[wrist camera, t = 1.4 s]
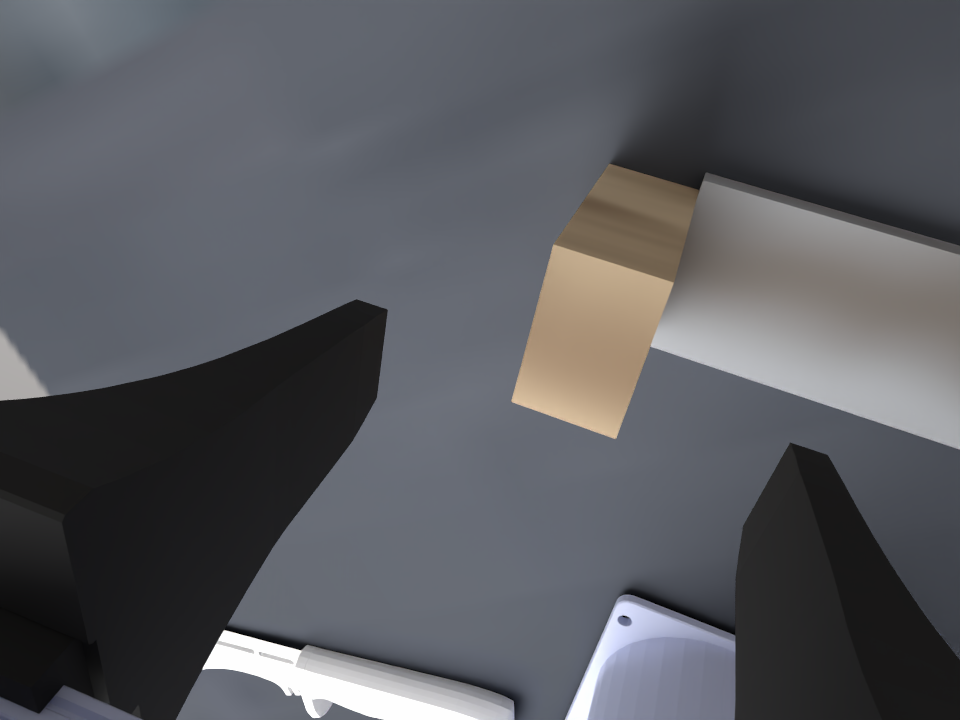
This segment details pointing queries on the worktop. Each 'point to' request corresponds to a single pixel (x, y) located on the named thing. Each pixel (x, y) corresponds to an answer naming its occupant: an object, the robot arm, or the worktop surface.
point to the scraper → (744, 304)
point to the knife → (357, 683)
